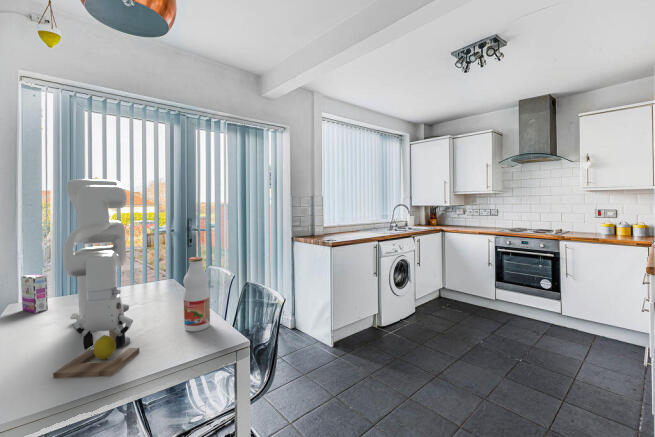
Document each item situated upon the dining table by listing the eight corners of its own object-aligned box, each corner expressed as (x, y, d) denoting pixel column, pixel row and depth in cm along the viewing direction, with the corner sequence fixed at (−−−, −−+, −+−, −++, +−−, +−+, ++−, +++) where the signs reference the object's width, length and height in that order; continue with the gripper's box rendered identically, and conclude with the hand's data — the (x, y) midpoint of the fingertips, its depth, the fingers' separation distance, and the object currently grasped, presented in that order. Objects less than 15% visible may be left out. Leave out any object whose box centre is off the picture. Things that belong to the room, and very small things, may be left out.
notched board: (53, 378, 85) (52, 373, 85) (89, 353, 99) (89, 349, 99) (111, 376, 86) (111, 370, 86) (139, 351, 100) (139, 347, 100)
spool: (96, 350, 101) (95, 312, 100) (112, 339, 109) (110, 304, 108) (121, 349, 102) (119, 312, 101) (135, 339, 110) (133, 304, 109)
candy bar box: (49, 310, 141) (47, 275, 140) (35, 313, 136) (33, 277, 135) (35, 307, 145) (33, 273, 144) (21, 310, 140) (19, 275, 139)
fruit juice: (215, 325, 121) (213, 257, 119) (194, 334, 113) (192, 261, 111) (200, 320, 126) (198, 254, 124) (179, 328, 118) (177, 258, 116)
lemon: (119, 354, 98) (118, 331, 98) (109, 364, 93) (108, 338, 92) (101, 355, 97) (100, 332, 97) (90, 365, 92) (88, 340, 91)
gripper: (137, 289, 98) (139, 340, 99) (82, 291, 97) (85, 342, 98) (123, 297, 91) (125, 352, 92) (63, 298, 90) (66, 354, 91)
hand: (104, 347), depth 95 cm, fingers open, 9 cm apart
